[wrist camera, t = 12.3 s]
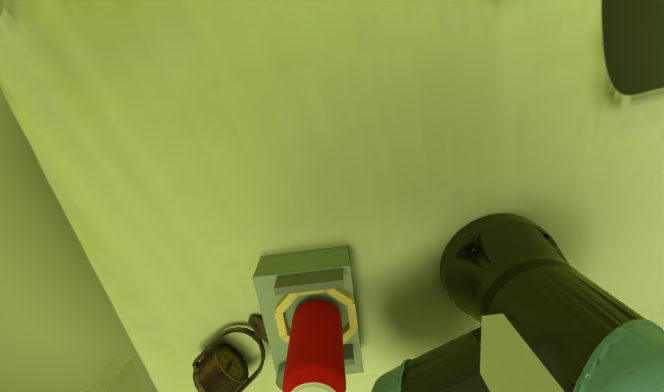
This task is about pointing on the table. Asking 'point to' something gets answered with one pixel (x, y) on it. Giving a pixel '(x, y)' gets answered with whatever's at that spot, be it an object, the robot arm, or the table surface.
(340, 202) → the table surface
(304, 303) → the beverage can
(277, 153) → the table surface
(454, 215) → the table surface
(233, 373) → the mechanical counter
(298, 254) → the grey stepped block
